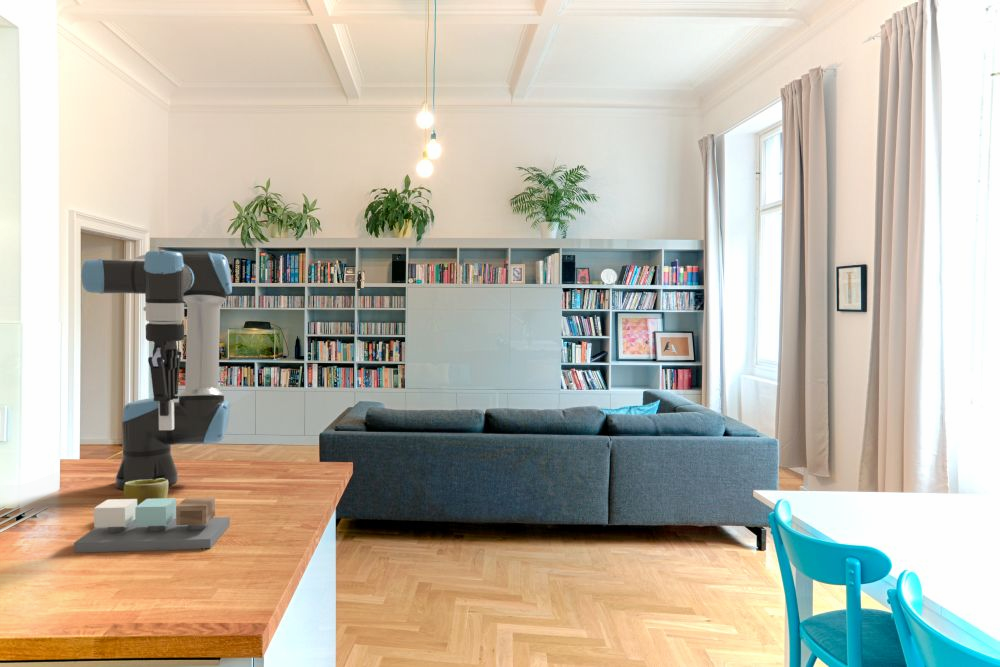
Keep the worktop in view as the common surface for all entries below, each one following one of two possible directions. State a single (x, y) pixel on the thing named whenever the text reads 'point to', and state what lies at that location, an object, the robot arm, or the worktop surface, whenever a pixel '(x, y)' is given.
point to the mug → (146, 489)
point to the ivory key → (115, 513)
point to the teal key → (155, 512)
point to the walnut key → (195, 511)
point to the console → (152, 537)
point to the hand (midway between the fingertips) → (166, 429)
